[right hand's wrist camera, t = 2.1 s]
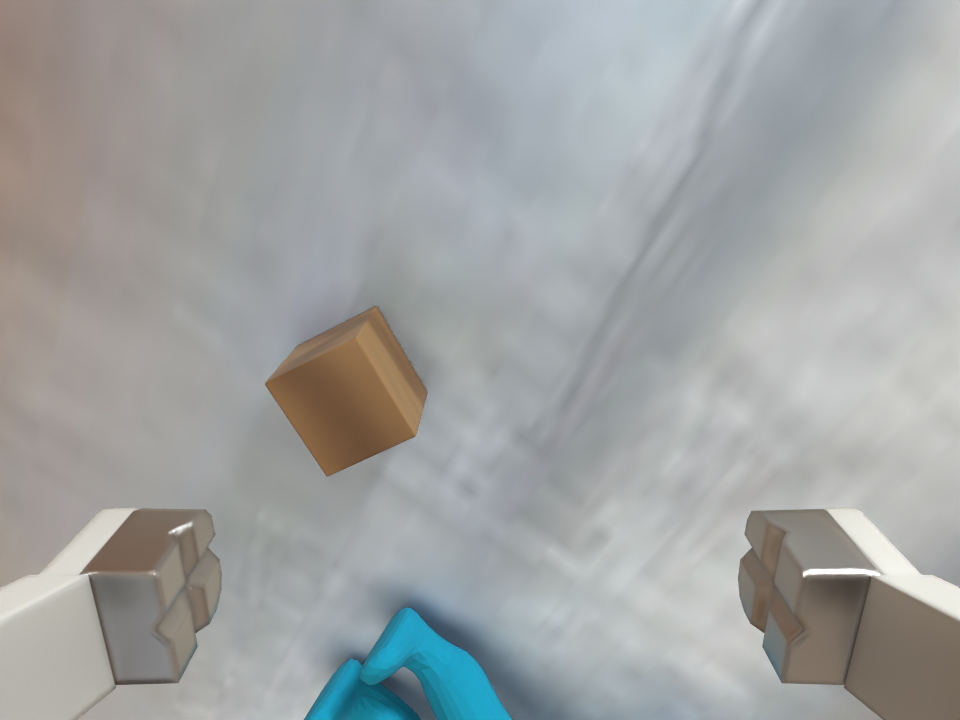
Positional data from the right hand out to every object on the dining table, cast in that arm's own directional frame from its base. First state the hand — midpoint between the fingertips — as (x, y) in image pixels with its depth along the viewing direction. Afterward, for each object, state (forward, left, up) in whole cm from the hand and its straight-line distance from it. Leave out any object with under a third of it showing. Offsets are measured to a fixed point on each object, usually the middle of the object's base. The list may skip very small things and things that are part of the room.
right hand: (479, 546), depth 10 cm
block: (+4, +7, -20) cm, 22 cm away
